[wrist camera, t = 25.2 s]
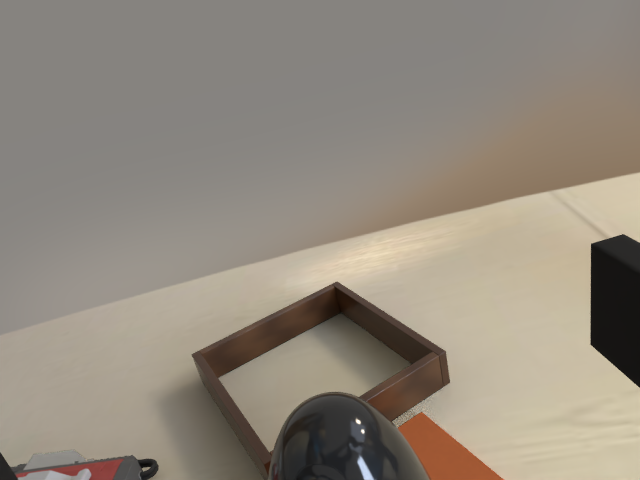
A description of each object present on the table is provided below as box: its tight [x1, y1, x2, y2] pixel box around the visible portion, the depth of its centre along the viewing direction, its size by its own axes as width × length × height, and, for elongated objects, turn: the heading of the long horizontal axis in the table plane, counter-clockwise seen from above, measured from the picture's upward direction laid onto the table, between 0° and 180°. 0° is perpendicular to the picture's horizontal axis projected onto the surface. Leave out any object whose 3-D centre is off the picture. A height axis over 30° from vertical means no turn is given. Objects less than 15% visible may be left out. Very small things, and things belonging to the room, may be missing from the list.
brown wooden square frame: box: [192, 282, 450, 480], centre depth 49 cm, size 18×18×4 cm
